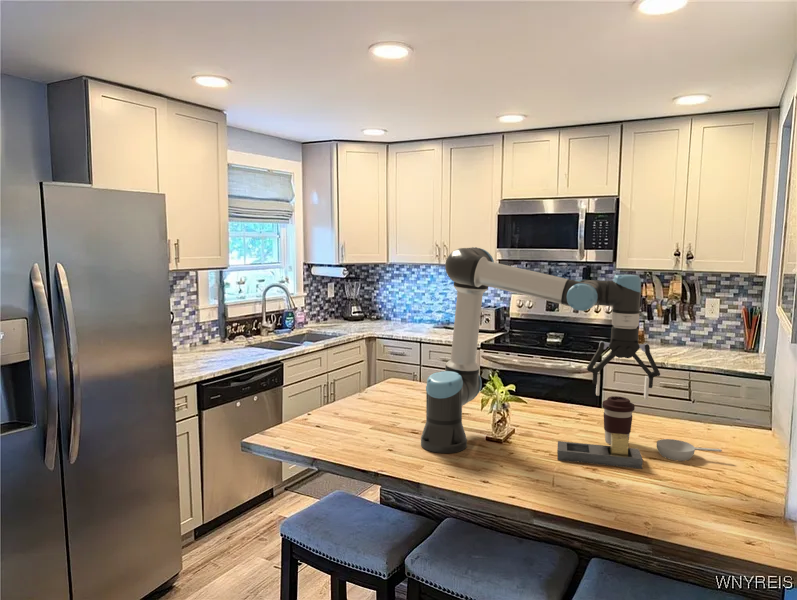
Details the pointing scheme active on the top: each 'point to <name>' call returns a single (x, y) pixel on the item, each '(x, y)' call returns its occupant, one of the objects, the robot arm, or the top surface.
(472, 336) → the robot arm
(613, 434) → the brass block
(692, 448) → the small pan
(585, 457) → the gray slotted rack
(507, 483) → the top surface
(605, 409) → the coffee cup
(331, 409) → the top surface
